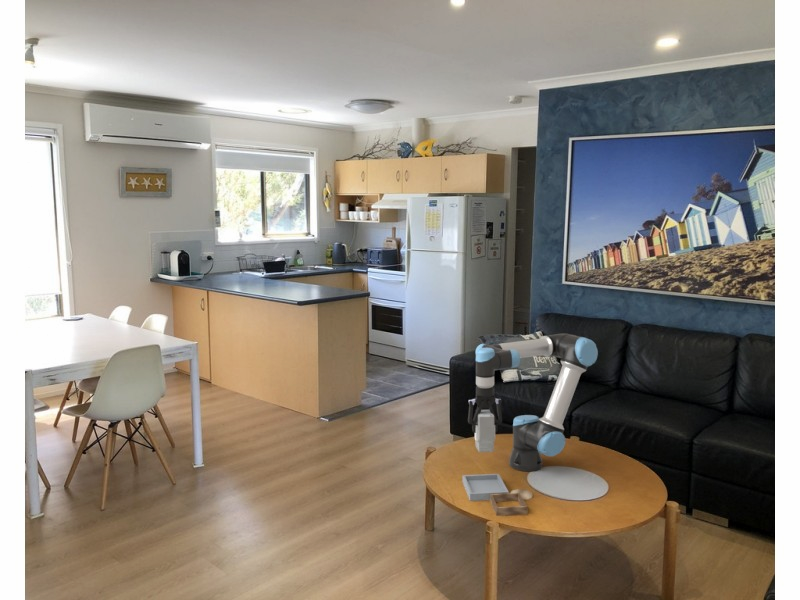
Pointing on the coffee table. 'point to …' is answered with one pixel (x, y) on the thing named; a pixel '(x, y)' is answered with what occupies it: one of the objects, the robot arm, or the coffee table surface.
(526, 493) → the curved potato chip
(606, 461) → the coffee table surface
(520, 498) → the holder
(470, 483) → the tray
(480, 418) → the skincare box
